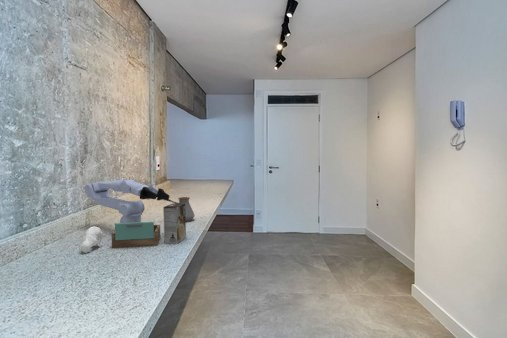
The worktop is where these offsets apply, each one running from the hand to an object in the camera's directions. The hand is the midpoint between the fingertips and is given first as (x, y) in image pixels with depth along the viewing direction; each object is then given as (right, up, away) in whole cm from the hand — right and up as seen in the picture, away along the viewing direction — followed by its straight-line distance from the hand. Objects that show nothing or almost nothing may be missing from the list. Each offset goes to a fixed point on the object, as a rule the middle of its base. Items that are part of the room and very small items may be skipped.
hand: (162, 197), depth 140 cm
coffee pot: (-4, -17, +38) cm, 42 cm away
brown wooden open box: (-10, -20, -2) cm, 22 cm away
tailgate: (-9, -17, -8) cm, 21 cm away
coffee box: (+5, -20, +1) cm, 20 cm away
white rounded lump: (-26, -21, -11) cm, 35 cm away
